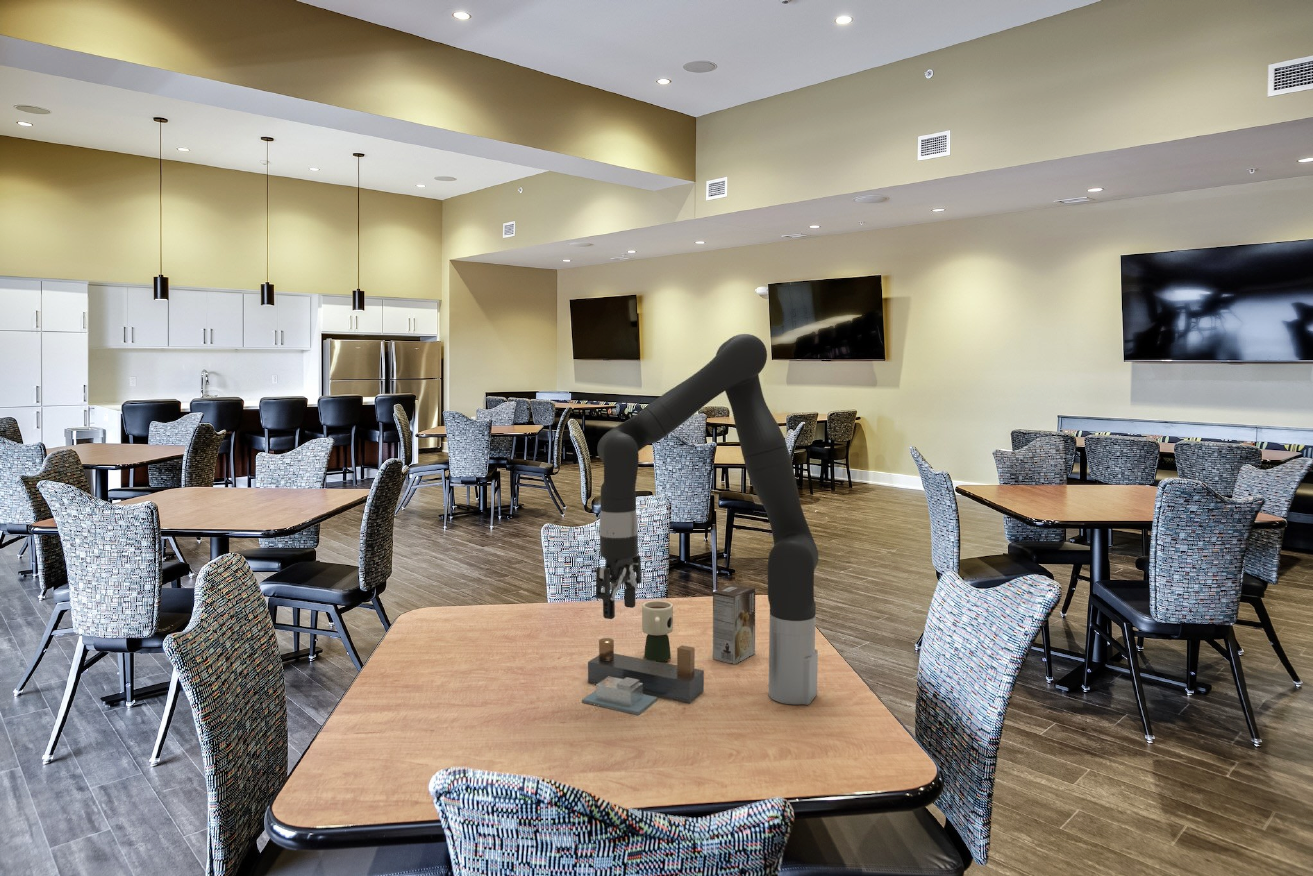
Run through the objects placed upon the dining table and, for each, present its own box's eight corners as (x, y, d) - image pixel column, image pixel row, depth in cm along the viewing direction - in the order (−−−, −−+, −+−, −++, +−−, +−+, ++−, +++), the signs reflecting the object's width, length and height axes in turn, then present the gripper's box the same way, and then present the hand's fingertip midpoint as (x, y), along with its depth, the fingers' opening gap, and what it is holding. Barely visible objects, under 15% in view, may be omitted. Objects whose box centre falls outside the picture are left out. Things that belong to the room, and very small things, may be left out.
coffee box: (732, 648, 194) (733, 583, 193) (755, 654, 190) (756, 587, 189) (711, 659, 187) (712, 591, 185) (735, 665, 183) (736, 596, 181)
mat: (657, 700, 163) (657, 697, 163) (638, 715, 156) (638, 712, 156) (602, 688, 169) (602, 685, 169) (581, 702, 162) (581, 699, 162)
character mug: (673, 668, 181) (673, 611, 180) (641, 668, 181) (641, 611, 180) (672, 651, 192) (672, 598, 191) (642, 651, 192) (642, 597, 191)
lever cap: (642, 697, 163) (642, 679, 163) (630, 706, 159) (630, 688, 158) (608, 690, 167) (608, 672, 166) (596, 699, 162) (596, 680, 162)
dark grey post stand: (703, 691, 168) (704, 644, 167) (689, 703, 162) (689, 655, 161) (604, 671, 179) (604, 627, 178) (588, 682, 173) (587, 636, 172)
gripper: (617, 540, 152) (618, 625, 153) (651, 527, 164) (652, 605, 166) (583, 537, 155) (585, 620, 156) (619, 524, 168) (620, 601, 169)
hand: (619, 612), depth 161 cm, fingers open, 8 cm apart
